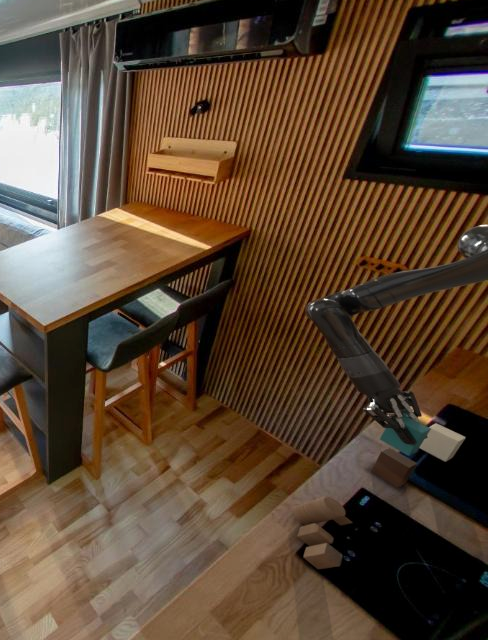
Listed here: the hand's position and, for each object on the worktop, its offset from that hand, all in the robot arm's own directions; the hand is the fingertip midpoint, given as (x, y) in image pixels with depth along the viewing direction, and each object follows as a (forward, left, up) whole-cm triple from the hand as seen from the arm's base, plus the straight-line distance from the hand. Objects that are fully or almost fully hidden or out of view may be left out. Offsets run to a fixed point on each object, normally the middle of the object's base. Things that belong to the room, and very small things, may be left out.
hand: (416, 440), depth 85 cm
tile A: (-8, -20, -18) cm, 28 cm away
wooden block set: (+11, +25, -18) cm, 33 cm away
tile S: (+2, -1, -4) cm, 5 cm away
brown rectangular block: (0, -4, -18) cm, 18 cm away
